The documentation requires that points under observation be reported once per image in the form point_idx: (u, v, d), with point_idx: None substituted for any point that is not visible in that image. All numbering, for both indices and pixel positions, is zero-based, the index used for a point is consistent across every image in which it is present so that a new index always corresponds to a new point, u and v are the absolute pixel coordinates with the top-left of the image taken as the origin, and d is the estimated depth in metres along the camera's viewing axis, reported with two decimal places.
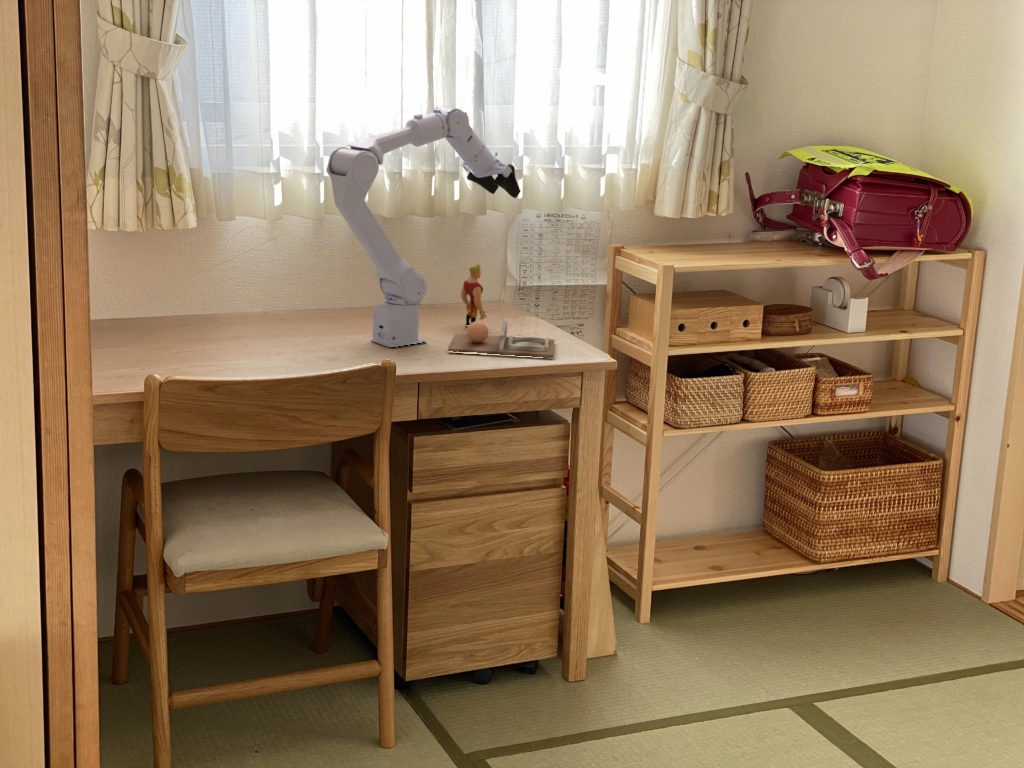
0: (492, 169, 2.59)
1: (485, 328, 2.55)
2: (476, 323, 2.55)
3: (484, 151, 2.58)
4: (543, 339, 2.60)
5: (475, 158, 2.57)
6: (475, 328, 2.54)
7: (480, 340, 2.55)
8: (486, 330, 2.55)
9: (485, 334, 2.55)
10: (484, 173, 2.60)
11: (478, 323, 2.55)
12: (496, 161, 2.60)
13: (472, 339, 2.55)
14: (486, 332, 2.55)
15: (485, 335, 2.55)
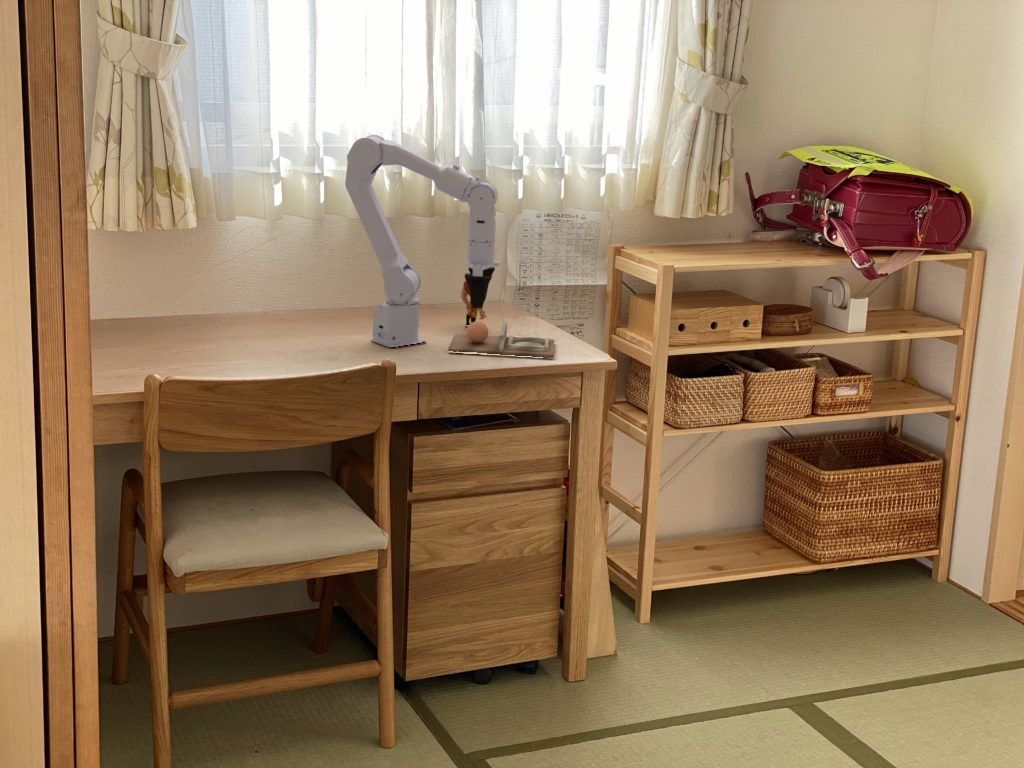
0: (476, 265, 2.49)
1: (485, 328, 2.55)
2: (476, 323, 2.55)
3: (484, 245, 2.49)
4: (543, 339, 2.60)
5: (472, 242, 2.49)
6: (475, 328, 2.54)
7: (480, 340, 2.55)
8: (486, 330, 2.55)
9: (485, 334, 2.55)
10: (469, 262, 2.50)
11: (478, 323, 2.55)
12: (486, 265, 2.50)
13: (472, 339, 2.55)
14: (486, 332, 2.55)
15: (485, 335, 2.55)
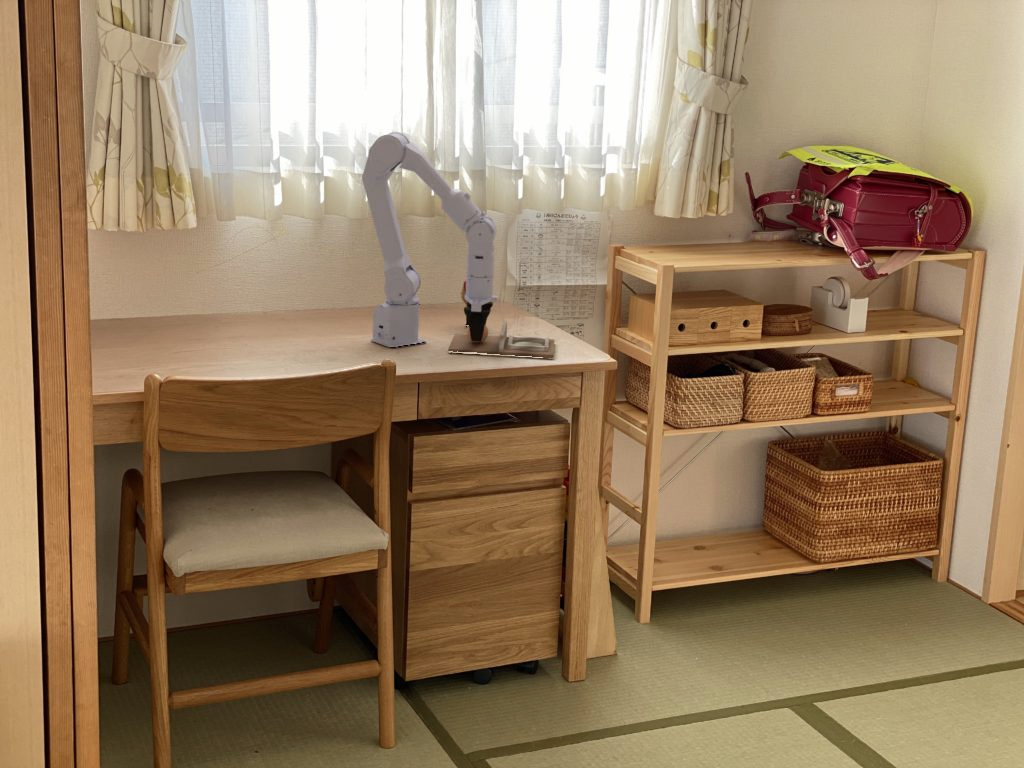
0: (474, 300, 2.51)
1: (485, 328, 2.55)
2: None
3: (482, 281, 2.51)
4: (543, 339, 2.60)
5: (471, 277, 2.51)
6: None
7: None
8: (486, 330, 2.55)
9: (485, 334, 2.55)
10: (467, 297, 2.52)
11: None
12: (485, 300, 2.52)
13: None
14: (486, 332, 2.55)
15: (485, 335, 2.55)
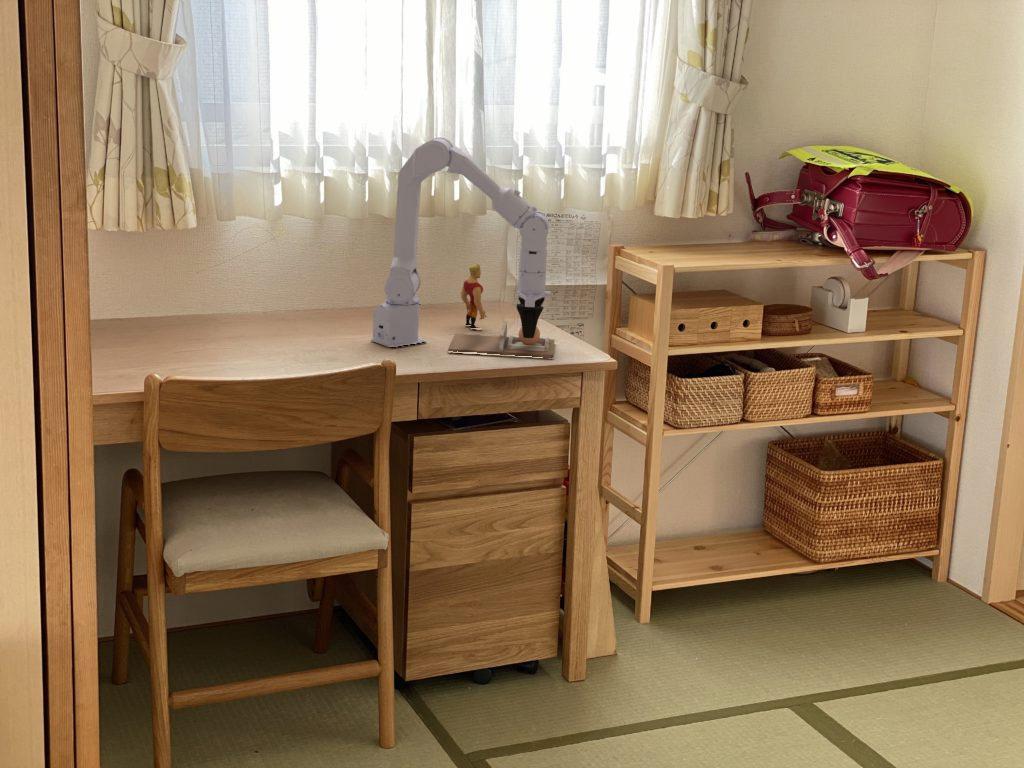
0: None
1: (537, 331, 2.55)
2: None
3: (535, 276, 2.50)
4: (543, 339, 2.60)
5: (524, 273, 2.50)
6: None
7: (532, 343, 2.55)
8: (538, 333, 2.55)
9: (537, 337, 2.55)
10: (520, 292, 2.51)
11: None
12: (538, 295, 2.51)
13: (524, 342, 2.55)
14: (538, 335, 2.55)
15: (537, 338, 2.55)
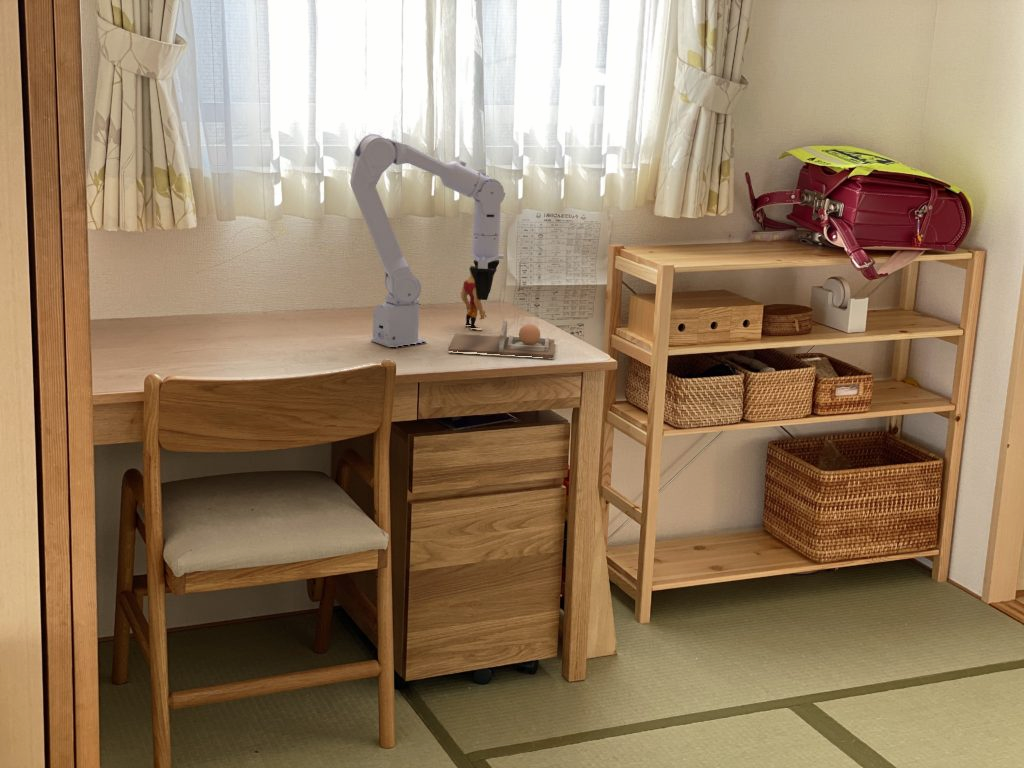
0: (481, 258, 2.55)
1: (537, 331, 2.54)
2: (529, 326, 2.54)
3: (489, 239, 2.55)
4: (543, 339, 2.60)
5: (477, 235, 2.55)
6: (528, 332, 2.54)
7: (532, 343, 2.55)
8: (538, 333, 2.55)
9: (537, 337, 2.54)
10: (474, 255, 2.56)
11: (531, 326, 2.54)
12: (491, 257, 2.56)
13: (524, 342, 2.55)
14: (538, 335, 2.55)
15: (537, 338, 2.55)
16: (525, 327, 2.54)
